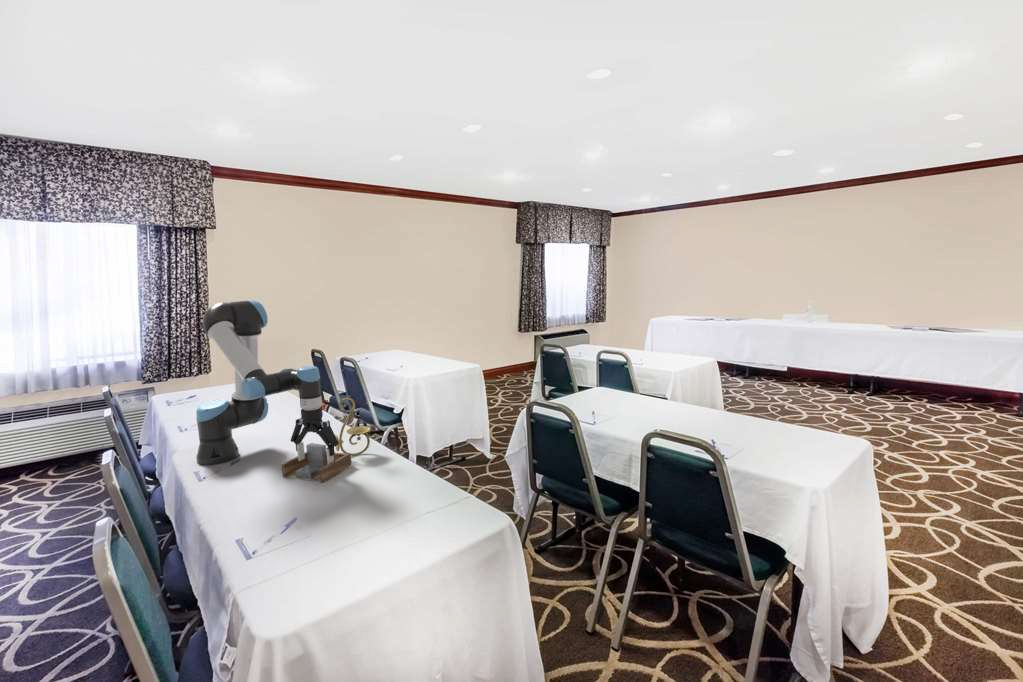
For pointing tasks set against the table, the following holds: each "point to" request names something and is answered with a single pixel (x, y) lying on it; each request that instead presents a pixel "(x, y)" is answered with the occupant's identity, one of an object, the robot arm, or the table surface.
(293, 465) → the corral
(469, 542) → the table surface
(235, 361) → the robot arm
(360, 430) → the wall sconce
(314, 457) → the angle bracket
